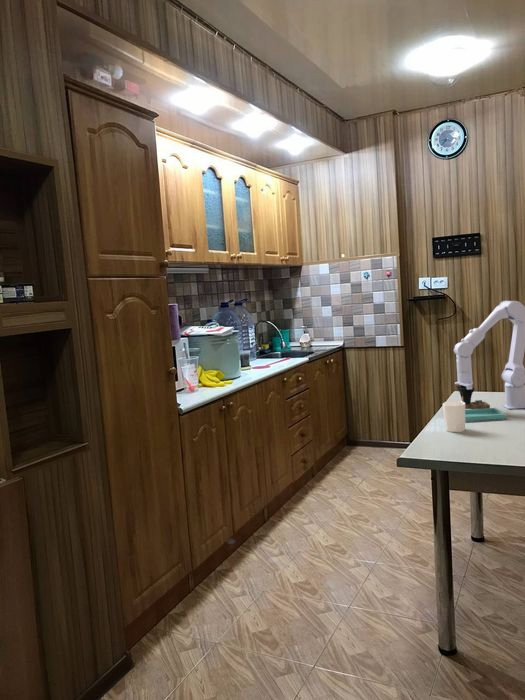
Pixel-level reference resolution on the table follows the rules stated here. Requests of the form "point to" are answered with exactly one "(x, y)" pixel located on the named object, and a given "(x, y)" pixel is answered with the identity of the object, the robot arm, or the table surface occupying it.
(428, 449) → the table surface
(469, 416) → the tray
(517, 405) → the robot arm
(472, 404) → the collar
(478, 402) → the stake
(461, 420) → the white cup
